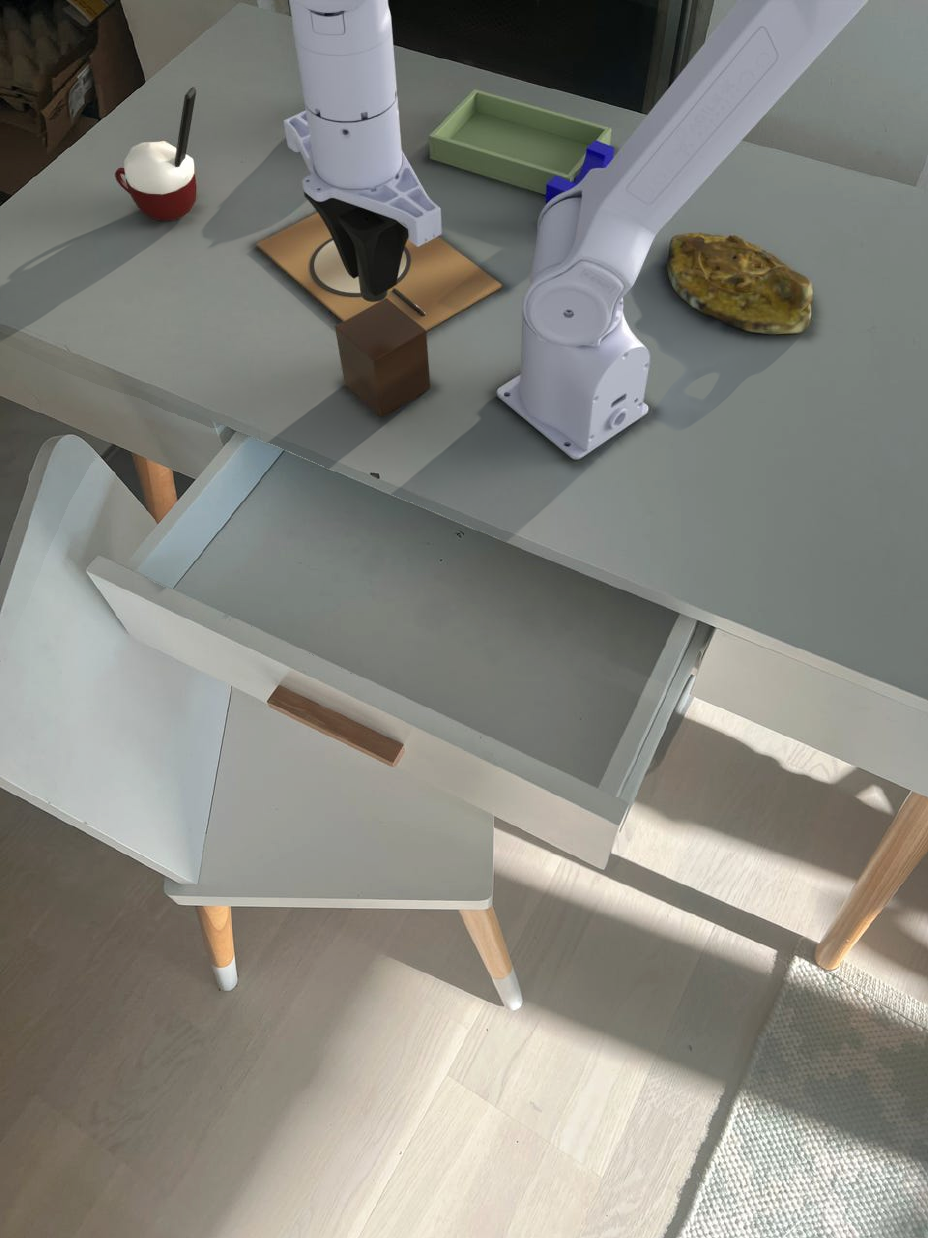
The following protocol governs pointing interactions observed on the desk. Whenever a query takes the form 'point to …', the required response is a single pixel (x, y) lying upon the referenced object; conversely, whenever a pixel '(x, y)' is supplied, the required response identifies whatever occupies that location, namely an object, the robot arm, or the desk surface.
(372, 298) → the marker
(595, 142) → the cable holder
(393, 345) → the tall brown wooden block
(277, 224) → the desk surface
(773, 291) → the stuffed pastry
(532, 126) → the tray
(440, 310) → the drawing pad
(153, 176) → the cocoa
